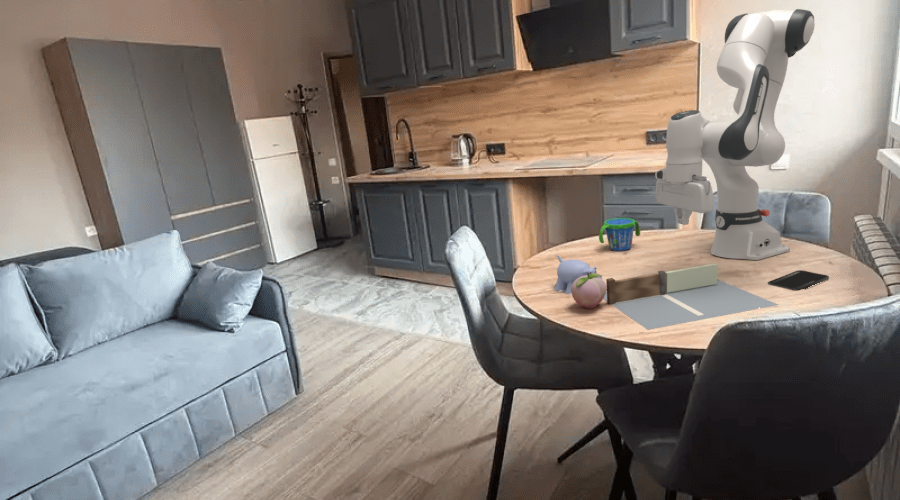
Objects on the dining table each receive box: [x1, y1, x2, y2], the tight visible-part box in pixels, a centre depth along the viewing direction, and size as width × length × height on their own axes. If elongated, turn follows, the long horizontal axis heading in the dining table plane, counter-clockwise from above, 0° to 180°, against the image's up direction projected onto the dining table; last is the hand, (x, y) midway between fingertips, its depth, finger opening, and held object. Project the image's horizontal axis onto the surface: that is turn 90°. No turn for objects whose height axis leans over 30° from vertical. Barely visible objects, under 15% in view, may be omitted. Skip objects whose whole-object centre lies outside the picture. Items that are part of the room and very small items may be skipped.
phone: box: [767, 270, 830, 292], centre depth 131 cm, size 8×1×15 cm
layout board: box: [603, 278, 779, 331], centre depth 128 cm, size 34×26×1 cm
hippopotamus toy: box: [554, 255, 603, 296], centre depth 143 cm, size 11×15×10 cm
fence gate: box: [665, 262, 719, 293], centre depth 133 cm, size 15×1×6 cm, turn 100°
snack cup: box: [598, 217, 641, 252], centre depth 177 cm, size 16×10×10 cm
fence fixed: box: [605, 270, 666, 305], centre depth 131 cm, size 16×2×7 cm, turn 100°
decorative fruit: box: [571, 272, 607, 309], centre depth 129 cm, size 9×8×10 cm
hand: (682, 223), depth 137 cm, fingers closed
